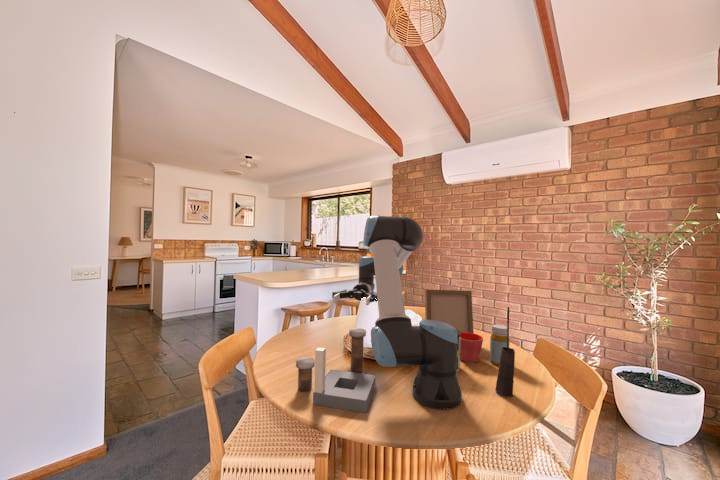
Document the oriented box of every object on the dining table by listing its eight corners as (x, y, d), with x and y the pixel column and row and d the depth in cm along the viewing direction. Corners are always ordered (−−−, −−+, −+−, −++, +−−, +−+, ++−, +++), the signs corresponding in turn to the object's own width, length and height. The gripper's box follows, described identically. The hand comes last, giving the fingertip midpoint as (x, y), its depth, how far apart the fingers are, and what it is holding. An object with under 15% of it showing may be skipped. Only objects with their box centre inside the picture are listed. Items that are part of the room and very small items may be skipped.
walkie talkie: (521, 406, 89) (523, 313, 89) (487, 396, 94) (489, 309, 94) (523, 393, 97) (525, 308, 97) (491, 385, 102) (494, 304, 102)
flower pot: (488, 362, 121) (489, 338, 121) (467, 366, 117) (467, 341, 117) (470, 352, 131) (470, 330, 131) (449, 355, 127) (450, 333, 127)
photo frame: (473, 346, 140) (475, 293, 140) (427, 344, 140) (428, 291, 140) (464, 335, 155) (465, 287, 154) (422, 334, 155) (423, 286, 155)
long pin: (368, 375, 107) (369, 331, 107) (355, 380, 103) (357, 334, 103) (357, 369, 111) (358, 327, 111) (344, 374, 107) (346, 330, 107)
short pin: (317, 389, 96) (318, 361, 96) (301, 395, 92) (302, 366, 92) (307, 382, 101) (308, 355, 101) (292, 387, 97) (292, 360, 97)
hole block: (375, 385, 100) (376, 338, 99) (365, 412, 84) (367, 356, 84) (330, 379, 103) (331, 333, 103) (312, 404, 88) (314, 350, 87)
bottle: (489, 364, 119) (490, 327, 119) (490, 358, 125) (491, 323, 125) (508, 368, 116) (509, 330, 116) (508, 361, 122) (509, 325, 122)
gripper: (387, 301, 137) (381, 312, 116) (336, 297, 142) (320, 307, 121) (388, 284, 136) (381, 293, 116) (336, 281, 142) (321, 289, 121)
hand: (350, 300), depth 118 cm, fingers open, 13 cm apart
